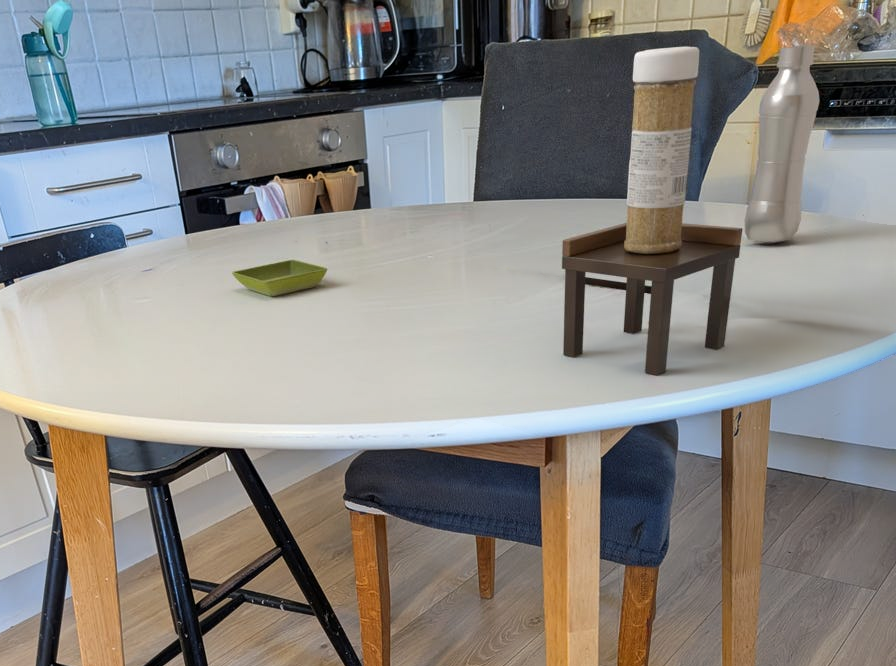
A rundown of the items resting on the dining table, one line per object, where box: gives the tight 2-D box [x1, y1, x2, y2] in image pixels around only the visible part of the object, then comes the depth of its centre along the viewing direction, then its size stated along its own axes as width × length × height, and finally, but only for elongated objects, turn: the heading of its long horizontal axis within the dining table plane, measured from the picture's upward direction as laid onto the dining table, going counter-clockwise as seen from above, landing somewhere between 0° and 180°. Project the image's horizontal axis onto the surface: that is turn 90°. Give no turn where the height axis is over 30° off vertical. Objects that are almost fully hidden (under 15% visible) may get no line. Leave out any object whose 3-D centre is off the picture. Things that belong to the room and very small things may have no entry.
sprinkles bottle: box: [624, 46, 700, 254], centre depth 66 cm, size 5×5×14 cm
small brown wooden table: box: [561, 222, 743, 376], centre depth 72 cm, size 10×10×9 cm
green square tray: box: [231, 259, 328, 297], centre depth 104 cm, size 9×9×2 cm
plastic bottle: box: [744, 44, 820, 245], centre depth 101 cm, size 6×7×20 cm
